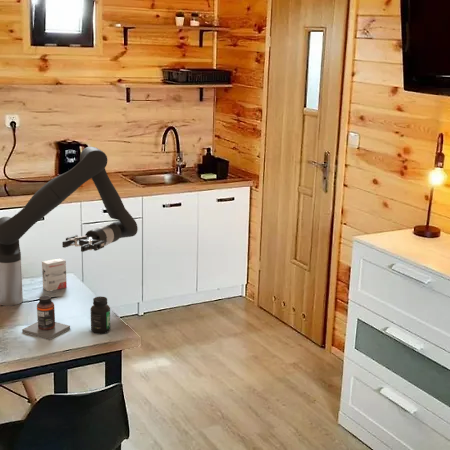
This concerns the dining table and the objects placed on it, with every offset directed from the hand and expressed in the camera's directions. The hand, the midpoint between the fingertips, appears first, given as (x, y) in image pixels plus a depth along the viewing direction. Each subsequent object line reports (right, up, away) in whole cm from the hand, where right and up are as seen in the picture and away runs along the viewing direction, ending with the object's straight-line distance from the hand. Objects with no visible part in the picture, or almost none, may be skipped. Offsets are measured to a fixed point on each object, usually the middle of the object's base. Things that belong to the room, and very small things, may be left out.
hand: (72, 247), depth 257 cm
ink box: (-14, -18, +33) cm, 40 cm away
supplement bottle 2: (+12, -30, -7) cm, 33 cm away
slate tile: (-7, -29, -9) cm, 31 cm away
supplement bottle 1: (-7, -28, -9) cm, 30 cm away
